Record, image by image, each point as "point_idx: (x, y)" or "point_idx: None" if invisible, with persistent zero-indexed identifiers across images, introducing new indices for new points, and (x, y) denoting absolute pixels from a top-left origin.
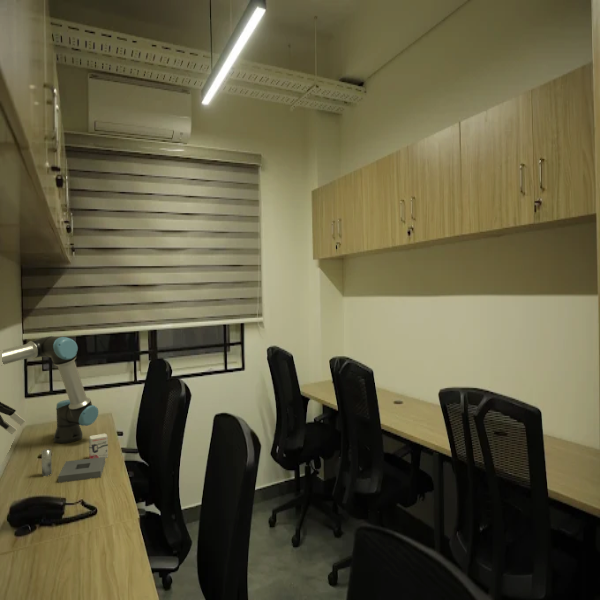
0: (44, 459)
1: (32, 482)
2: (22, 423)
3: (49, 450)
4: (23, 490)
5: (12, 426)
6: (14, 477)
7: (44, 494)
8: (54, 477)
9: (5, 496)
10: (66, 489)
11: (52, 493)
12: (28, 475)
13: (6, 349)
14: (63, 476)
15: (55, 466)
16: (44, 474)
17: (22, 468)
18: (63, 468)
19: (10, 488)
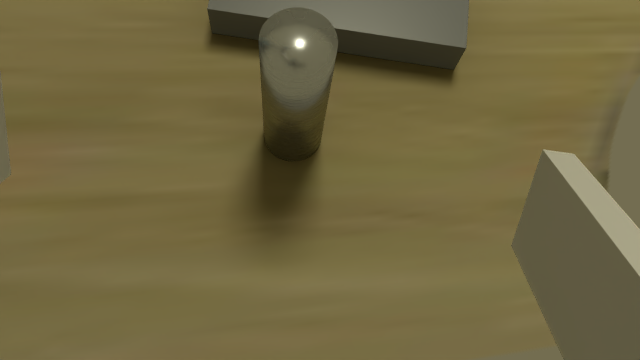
0: (329, 88)
1: (386, 209)
2: (3, 132)
3: (317, 18)
4: (498, 249)
5: (602, 197)
6: (233, 336)
7: (599, 131)
8: (359, 91)
9: (556, 345)
10: (568, 29)
11: (598, 93)
12: (242, 246)
13: None
14: (465, 24)
15: (157, 92)
16: (319, 140)
17: (65, 303)
18: (341, 21)
19: (433, 334)
